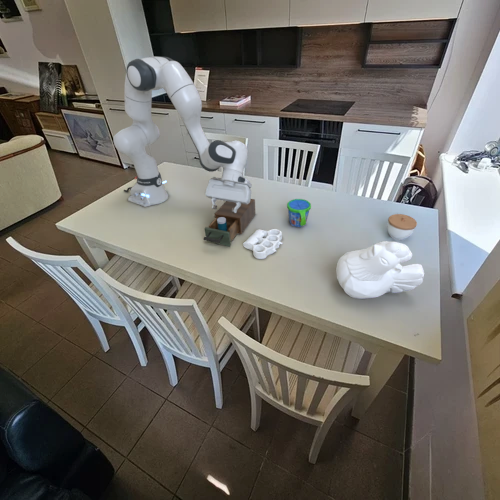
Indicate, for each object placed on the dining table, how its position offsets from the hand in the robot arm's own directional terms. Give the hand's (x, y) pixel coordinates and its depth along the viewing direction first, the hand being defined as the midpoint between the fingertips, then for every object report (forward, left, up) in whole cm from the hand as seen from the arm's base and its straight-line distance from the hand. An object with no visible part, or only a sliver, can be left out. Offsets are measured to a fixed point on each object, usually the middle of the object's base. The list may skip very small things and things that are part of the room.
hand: (223, 210), depth 119 cm
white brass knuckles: (+19, -2, -13) cm, 23 cm away
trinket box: (+71, +23, -13) cm, 76 cm away
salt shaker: (0, -3, -10) cm, 11 cm away
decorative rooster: (+63, -15, -13) cm, 66 cm away
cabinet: (0, +11, -12) cm, 17 cm away
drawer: (0, -3, -12) cm, 12 cm away
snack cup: (+28, +19, -13) cm, 36 cm away
